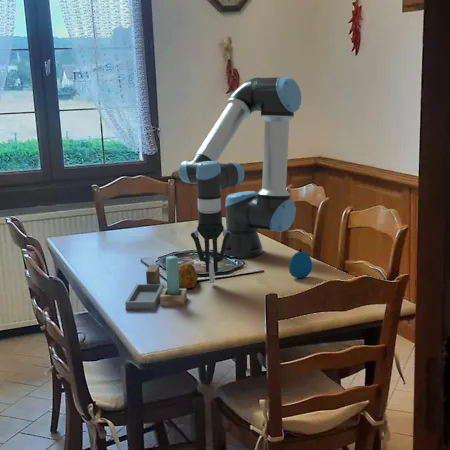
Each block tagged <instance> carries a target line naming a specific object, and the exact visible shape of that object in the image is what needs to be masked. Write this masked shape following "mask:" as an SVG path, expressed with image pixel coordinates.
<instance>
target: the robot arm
mask: <svg viewBox="0 0 450 450" xmlns="http://www.w3.org/2000/svg"><path fill="white" fill-rule="evenodd" d="M301 105H302V92H301V88H300V87H299V84H298V83H297V81H296V80H294V79H293V78H290V77H283V76H280V77H277V76H276V77H254V78H251V79H249V80H246V81H245V82H243V83H242V84H240V85H239V86H238V87H237V88H235V90H234V91H233V92H232V93H231V94H230V95H229V97H228V99H227V100H226V102H225V108H224V110H223V111H222V113H221V114H220V116H219V117H218V119H217V121H216V122H215V124H214V125H213V127H212V128H211V130H210V131H209V133H208V134H207V136H206V137H205V139H204V141H203V142H202V144H201V145H200V146H199V148H198V150H196V152H195V155H194V156H193V158H192V159H191V160H183V161H182V162H181V163H180V165H179V167H178V176H179V178H180V180H181V181H182V182H183V183H187V184H191V185H196V190H197V210H198V212H197V215H198V217H197V219H198V222H197V223H198V224H197V228H196V229H195V230H192V231H191V232H190V237H191V238H192V239H193V242H194V245H195V249H196V251H197V252H196V253H197V254H198V259H199V261H200V262H203V263H204V264H205V272H206V273H208V275H209V276H208V277H209V283H210V284H215V282H216V274H215V273H218V270H219V263H220V262H223V260H224V256H225V255H228V256H234V257H237V258H236V259H248V258H254V257H259V256H261V255H263V244H262V241H261V239H260V236H259V233H258V229H259V230H264V231H272V232H286V231H287V230H288V229H289V228H290V227H291V226H292V224H293V223H294V220H295V218H296V211H297V208H296V204H295V202H294V201H293V200H292V199H290V197H291V193H290V192H289V191H288V190H287V175H288V174H287V173H288V153H289V131H290V121H291V120H293V118H294V116H295V115H294V114H295V113H296V112H297V111H299V109H300V107H301ZM256 111H259V112H260V117H261V118H262V119H263V121H264V132H263V133H264V134H263V135H264V137H263V152H262V153H263V157H262V158H263V160H262V179H261V180H262V181H261V189H259V191H255V190H248V191H246V190H245V191H239V192H238V191H237V192H234V193H230V194H228V195H227V196H226V198H225V206H224V207H225V225H226V227H224V224H223V216H222V215H223V212H222V211H221V210H222V208H223V207H222V190H223V189H227V188H231V187H235V186H237V185H239V184H241V183H242V182H243V181H244V179H245V170H244V167H243V166H242V165H241V164H240V163H239V162H236V161H235V162H228V163H221V162H219V161H218V160H219V159H220V157H221V156H222V154H223V153H224V151H225V150H226V148H227V146H228V145H229V143H230V141H231V140H232V138H233V137H234V135H236V133H237V131H238V129H239V127H240V126H241V124H242V123H243V121H244V120H245V119H249V117H250V115H251V114H252V113H253V112H256ZM221 235H222V237H223V239H222V243H221V247H220V252H218V238H219V237H220V236H221ZM199 236H201V238H203V239H204V241H203V242H204V251H203V248H202V244H201V242H200V238H199ZM210 240H212V241H211V242H212V258H213V260H211V258H210V257H211V255H210V254H211V253H210V252H211V251H210ZM218 253H219V256H218ZM224 254H225V255H224Z"/></svg>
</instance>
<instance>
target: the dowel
mask: <svg viewBox="0 0 450 450" xmlns="http://www.w3.org/2000/svg"><path fill="white" fill-rule="evenodd" d="M165 267H166V268H165V272H166V274H165V275H166V289H167V292H168V295H179V275H178V267H179V257H178V256H176V255H169V256H166V257H165Z"/></svg>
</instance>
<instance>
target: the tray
mask: <svg viewBox="0 0 450 450" xmlns="http://www.w3.org/2000/svg"><path fill="white" fill-rule="evenodd" d="M164 289H165V288H164V284H163V283H159V284H147V283H140V284H137V283H136V285H135V286H134V288H133V289H132V291H131V292H130V294H129V296H128V297H127V299H126V301H124V303H125V304H124V305H125V311H155V310H156V308H157V306H158V303H160V296H161V294H162V292H163V290H164Z"/></svg>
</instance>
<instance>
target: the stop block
mask: <svg viewBox="0 0 450 450" xmlns="http://www.w3.org/2000/svg"><path fill="white" fill-rule="evenodd" d="M145 276H146V284H161V283H160V282H161V275H160V264H150V265H149V266H148V268H147V269H146V271H145Z"/></svg>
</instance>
